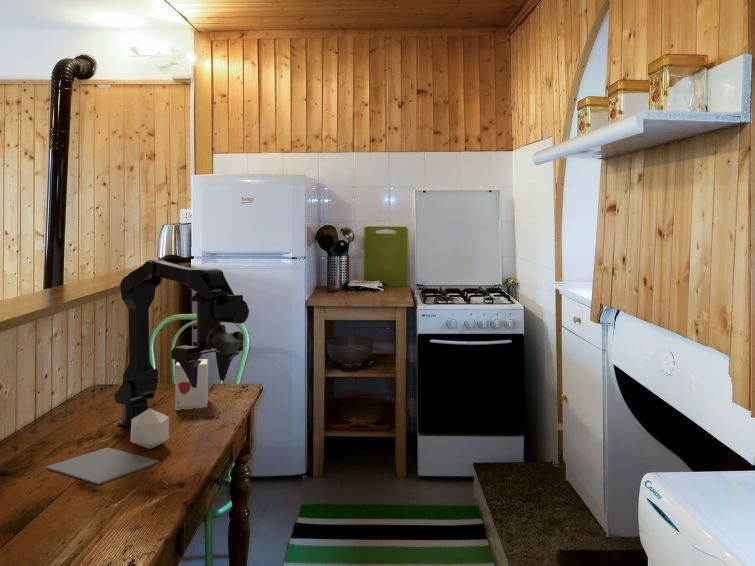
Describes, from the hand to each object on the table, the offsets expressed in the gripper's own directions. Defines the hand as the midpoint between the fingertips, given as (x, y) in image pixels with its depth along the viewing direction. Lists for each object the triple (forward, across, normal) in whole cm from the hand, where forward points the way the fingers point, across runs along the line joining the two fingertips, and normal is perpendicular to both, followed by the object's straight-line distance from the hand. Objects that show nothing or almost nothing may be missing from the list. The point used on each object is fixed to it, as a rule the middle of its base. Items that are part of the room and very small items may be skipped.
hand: (208, 383), depth 146 cm
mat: (+15, -23, +8) cm, 29 cm away
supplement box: (+15, +18, +26) cm, 35 cm away
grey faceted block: (+15, -10, +8) cm, 20 cm away
